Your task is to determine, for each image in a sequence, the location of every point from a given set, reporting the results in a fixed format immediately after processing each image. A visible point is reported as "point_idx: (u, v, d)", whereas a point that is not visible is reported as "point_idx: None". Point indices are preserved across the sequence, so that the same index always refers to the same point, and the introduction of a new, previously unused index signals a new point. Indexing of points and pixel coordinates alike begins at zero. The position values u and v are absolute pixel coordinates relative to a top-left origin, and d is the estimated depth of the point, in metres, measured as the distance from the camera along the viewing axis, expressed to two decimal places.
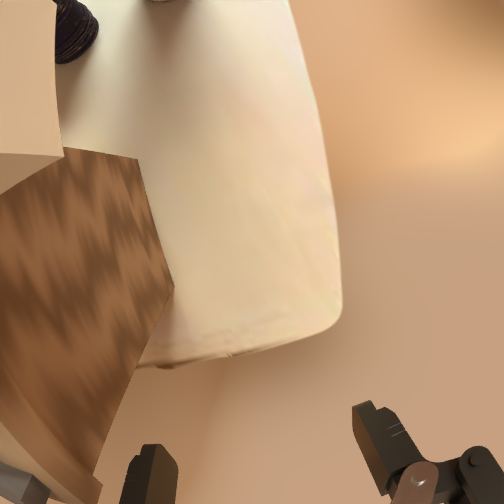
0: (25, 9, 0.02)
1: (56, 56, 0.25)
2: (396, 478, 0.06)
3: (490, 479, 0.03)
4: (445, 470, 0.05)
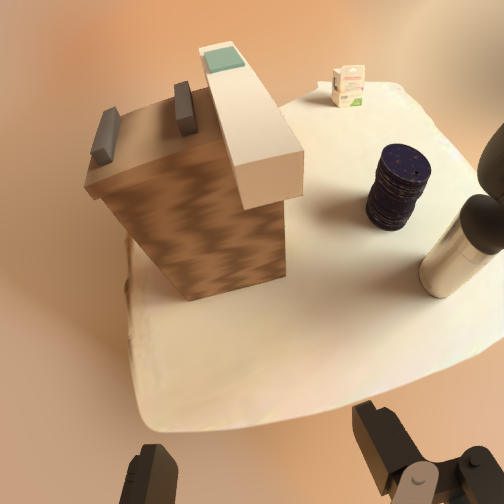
0: (288, 186, 0.17)
1: (369, 201, 0.52)
2: (396, 478, 0.06)
3: (490, 479, 0.03)
4: (445, 470, 0.05)
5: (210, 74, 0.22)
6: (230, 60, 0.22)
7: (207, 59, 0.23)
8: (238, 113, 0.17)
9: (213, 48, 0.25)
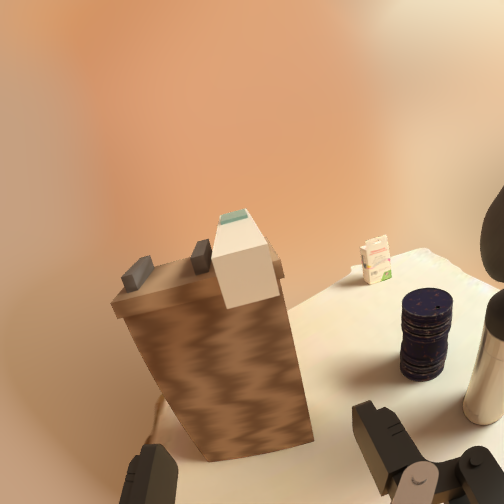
0: (263, 283, 0.20)
1: (401, 357, 0.45)
2: (396, 478, 0.06)
3: (490, 479, 0.03)
4: (445, 470, 0.05)
5: (221, 225, 0.32)
6: (237, 215, 0.34)
7: (221, 217, 0.35)
8: (229, 237, 0.24)
9: None
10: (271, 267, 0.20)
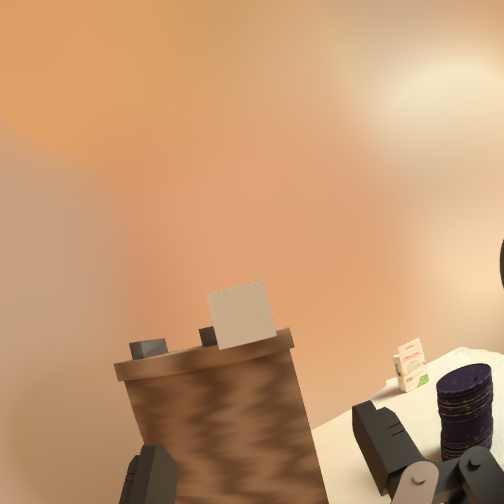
0: (258, 321, 0.19)
1: (442, 446, 0.28)
2: (396, 478, 0.06)
3: (490, 479, 0.03)
4: (445, 470, 0.05)
5: None
6: None
7: None
8: None
9: None
10: (266, 304, 0.19)
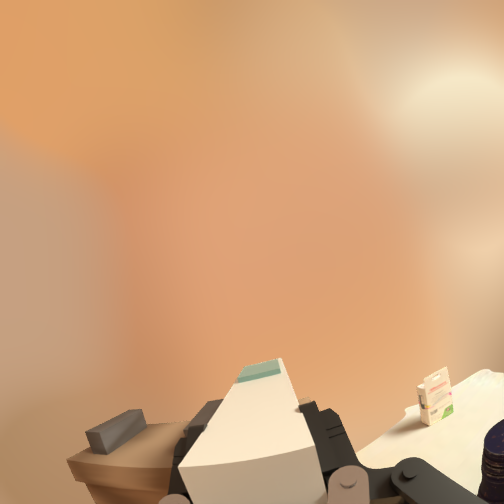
0: None
1: None
2: (328, 479, 0.06)
3: (434, 485, 0.05)
4: (379, 478, 0.06)
5: (238, 383, 0.19)
6: (265, 369, 0.21)
7: (242, 371, 0.22)
8: (238, 413, 0.11)
9: None
10: (321, 489, 0.06)
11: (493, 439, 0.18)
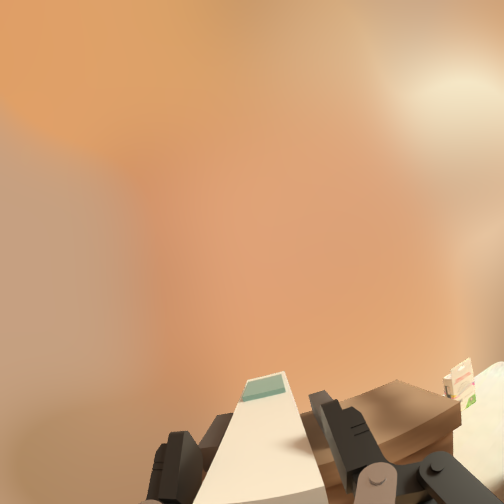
0: None
1: None
2: (356, 477, 0.06)
3: (458, 481, 0.04)
4: (406, 473, 0.06)
5: (243, 402, 0.19)
6: (270, 387, 0.20)
7: (246, 387, 0.22)
8: (246, 442, 0.11)
9: (262, 379, 0.26)
10: None
11: None
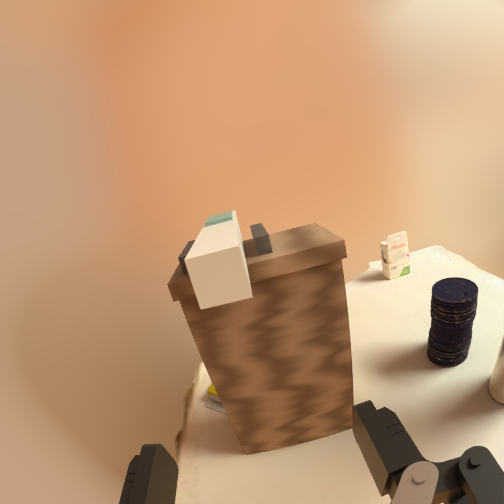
0: (235, 285, 0.20)
1: (429, 344, 0.45)
2: (396, 478, 0.06)
3: (490, 479, 0.03)
4: (445, 470, 0.05)
5: (205, 226, 0.33)
6: (223, 217, 0.34)
7: (208, 219, 0.36)
8: (207, 239, 0.25)
9: None
10: (243, 269, 0.20)
11: (439, 289, 0.43)
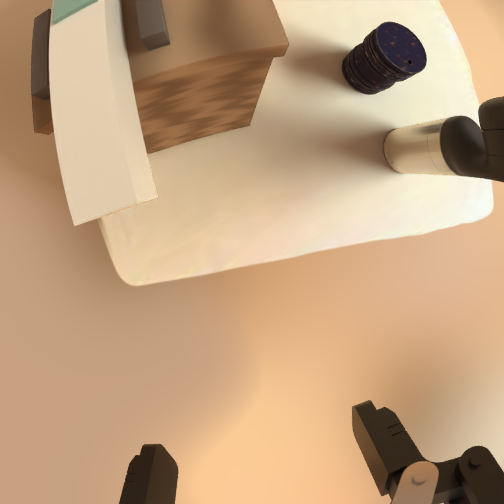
0: (138, 203, 0.15)
1: (348, 62, 0.40)
2: (396, 478, 0.06)
3: (490, 479, 0.03)
4: (445, 470, 0.05)
5: (54, 25, 0.09)
6: None
7: None
8: (72, 126, 0.11)
9: None
10: (145, 200, 0.14)
11: (385, 33, 0.29)
